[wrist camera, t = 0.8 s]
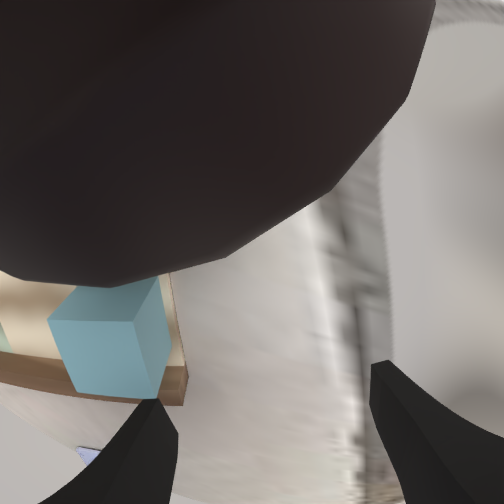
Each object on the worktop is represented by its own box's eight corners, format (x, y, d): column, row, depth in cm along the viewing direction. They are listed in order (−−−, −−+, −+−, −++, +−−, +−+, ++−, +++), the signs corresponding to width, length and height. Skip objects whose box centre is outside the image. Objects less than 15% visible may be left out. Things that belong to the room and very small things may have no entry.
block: (172, 345, 20) (156, 399, 15) (104, 344, 20) (77, 392, 15) (158, 276, 18) (132, 321, 14) (85, 278, 18) (46, 319, 14)
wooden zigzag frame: (189, 378, 22) (183, 408, 19) (-21, 356, 22) (-36, 373, 19) (149, 57, 15) (131, 43, 12) (-77, 142, 15) (-100, 147, 12)
